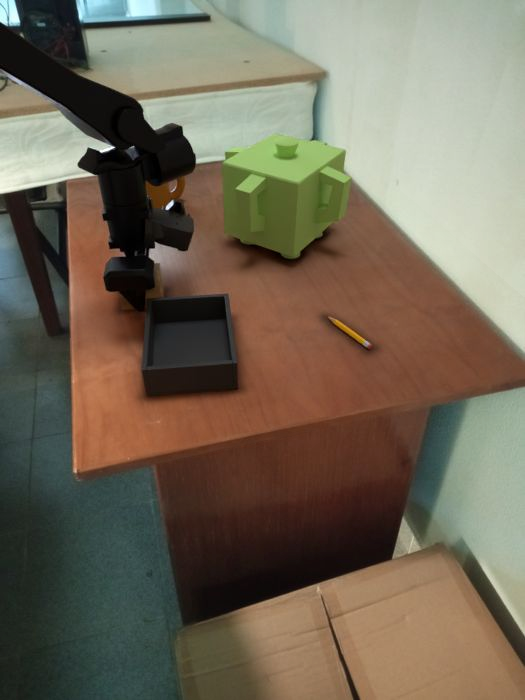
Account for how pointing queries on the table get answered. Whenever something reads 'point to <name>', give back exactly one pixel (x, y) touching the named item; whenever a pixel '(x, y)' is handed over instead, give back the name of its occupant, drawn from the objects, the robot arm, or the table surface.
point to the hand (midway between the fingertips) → (142, 295)
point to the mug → (165, 193)
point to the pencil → (351, 333)
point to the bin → (189, 345)
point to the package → (153, 293)
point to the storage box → (283, 192)
